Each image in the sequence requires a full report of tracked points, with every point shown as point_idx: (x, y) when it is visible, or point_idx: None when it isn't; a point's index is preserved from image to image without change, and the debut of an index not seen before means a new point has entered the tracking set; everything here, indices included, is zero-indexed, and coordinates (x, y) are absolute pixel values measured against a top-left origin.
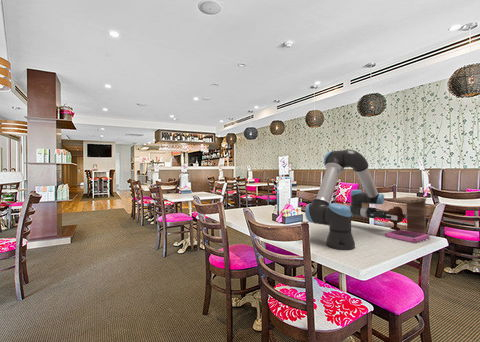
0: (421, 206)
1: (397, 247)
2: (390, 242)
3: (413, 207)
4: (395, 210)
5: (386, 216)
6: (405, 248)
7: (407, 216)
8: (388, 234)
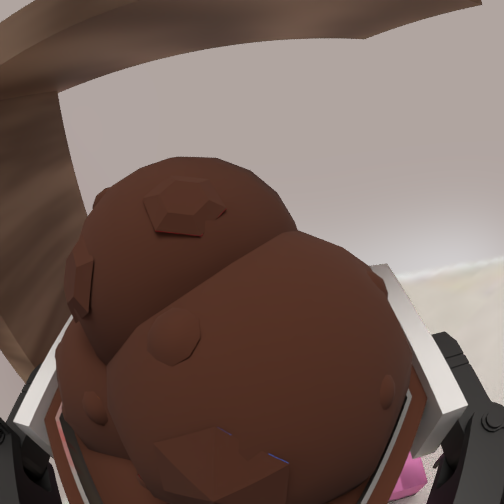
0: (57, 153)
1: (496, 301)
2: (486, 364)
3: (17, 198)
4: (302, 233)
5: (474, 389)
6: (471, 287)
7: (32, 353)
8: (416, 458)
